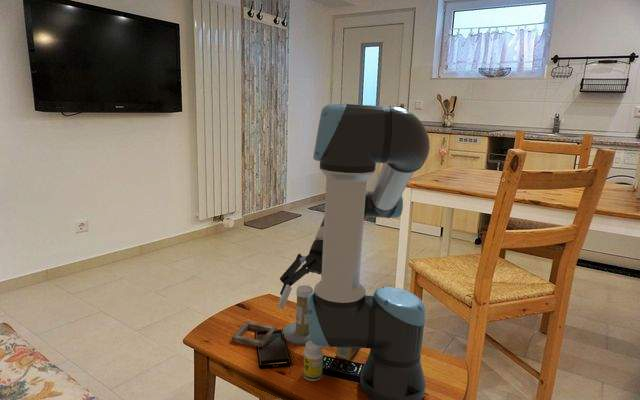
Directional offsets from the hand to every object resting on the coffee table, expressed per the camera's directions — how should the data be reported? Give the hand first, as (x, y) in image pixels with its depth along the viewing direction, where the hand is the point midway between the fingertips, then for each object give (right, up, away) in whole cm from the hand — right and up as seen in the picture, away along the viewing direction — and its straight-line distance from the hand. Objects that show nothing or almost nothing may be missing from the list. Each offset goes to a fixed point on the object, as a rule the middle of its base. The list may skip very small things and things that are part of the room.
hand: (297, 312), depth 116 cm
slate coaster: (+1, -8, +4) cm, 9 cm away
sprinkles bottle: (+1, -7, +4) cm, 8 cm away
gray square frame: (-12, -7, +2) cm, 14 cm away
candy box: (+14, -10, -3) cm, 18 cm away
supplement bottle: (+4, -12, -14) cm, 19 cm away
